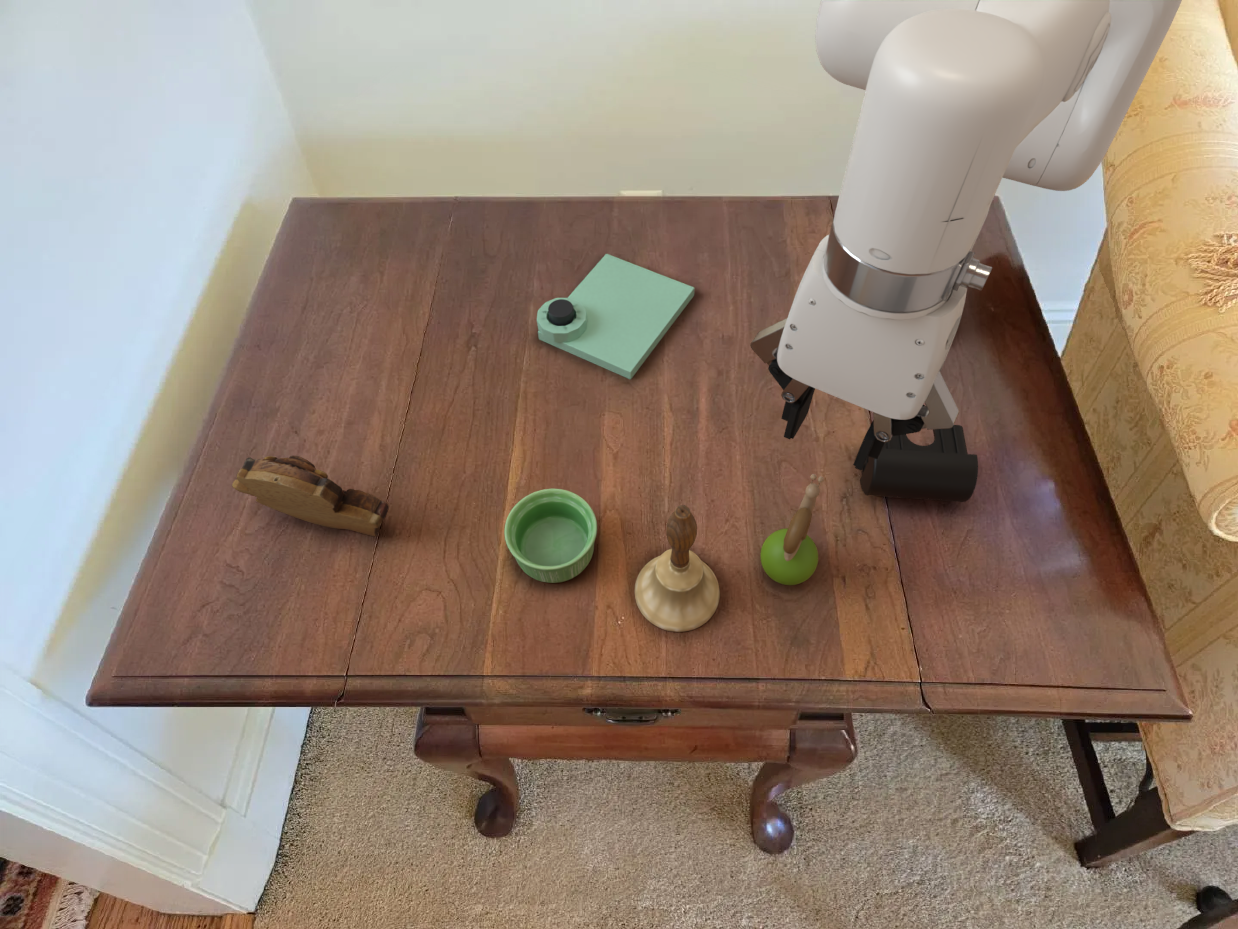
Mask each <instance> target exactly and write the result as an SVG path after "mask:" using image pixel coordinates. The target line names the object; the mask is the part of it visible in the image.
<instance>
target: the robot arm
mask: <svg viewBox="0 0 1238 929" xmlns="http://www.w3.org/2000/svg"><path fill="white" fill-rule="evenodd" d="M1182 2H1183V0H820V3H819V6H818V12H817V15H816V22H815V30H814V42H815V51H816V55H817V57H818V61H819V63H820V65H821V67H822V68H823V71H825V72H826V73H827V74H828V75H829V76H830V77H831V78H833V79H834V80H836V81H837V82H839V83H841V84H843V85H846V86H849V87H853V88H856V89H859V90H863V91H865V92H864V95H863V99H862V103H861V107H860V111H859V114H858V118H857V119H858V120H857V123H856V127H855V132H854V135H853V138H852V142H851V147H850V151H849V156H848V159H847V163H846V167H845V172H844V175H843V179H842V183H841V187H840V191H839V196H838V199H837V203H836V208H835V211H834V216H833V218H832V223H831V227H830V230H829V234H827V235H826V236H824V237H823V238H822V239H821V240H820V242H819V244H818V245H817V247H816V249H815V250H814V252H813V254H812V257H811V259H810V261H809V263H808V264H807V266H806V269H805V271H804V273H803V275H802V278H801V280H800V282H799V285H798V287H797V290H796V292H795V295H794V298H793V300H792V304H791V306H790V309H789V312H788V315H787V317H786V318H784V319H782V320H779V321H778V322H776V323H774V324H772V325H770V326H768V327H765V328H763V329H761V330H760V331H758V332H757V333H756V335H755V336H754V338H753V339H752V340H751V342H750V343H749V346H750V348H751V350H752V351H753V352H754V353H755V354H756V355H757V357H758V358H759V359H760V360H761V361H762V362H763V364H767V365H768V368H767V370H768V372H769V373H770V375H771V376H772V377H773V378H774V380H775V381H776V382H777V384H778V385H779V387H780V388H781V390H782V392H781V393H780V396H781V399H782V400H783V401H785V402H784V406H783V410H782V413H781V417H780V419H781V420H784V421H785V422H786V425H785V429H784V434H783V438H785V439H787V440H791V439H792V440H793V439H794V438H795V437H796V435H797V433H798V431H799V430H800V428H801V426H802V425H803V423H804V422H805V419H806V418H807V416H808V414H809V411H810V407H811V403H812V400H813V397H814V393H815V390H818V391H820V392H823V393H825V394H828V395H830V396H833V397H834V398H837V399H840V400H842V401H845V402H847V403H849V404H851V405H855V406H857V407H859V408H862V409H864V410H867V411H870V412H872V415H873V416H872V417H873V418H872V419H873V420H872V421H871V423H870V425H869V427H868V429H867V431H866V433H865V435H864V437H863V439H862V442H861V444H860V447H859V449H858V452H857V454H856V456H855V459H854V461H853V464H852V466H854V469H857V470H859V471H862V468H863V466H864V464H865V462H866V460H867V458H868V456H870V457H872V458H874V459H878V457H879V455H880V453H881V451H882V449H883V447H884V445H885V443H886V442H889V441H890V440H891V438H892V436H897V435H903V434H906V435H908V434H916V433H920V432H921V430H923V429H926V430H928V431H929V430H930V431H931V430H932V431H933V429H948V428H952V427H953V425H955V423H956V420H957V418H958V416H959V414H960V410H959V408H958V405H957V403H956V402H955V400H954V397H953V395H952V394H951V392H950V388H949V387H948V385H947V383H946V381H945V379H944V377H943V375H942V373H941V372H942V369H943V366H944V364H945V362H946V360H947V357H948V354H949V352H950V349H951V347H952V344H953V342H954V339H955V337H956V334H957V331H958V329H959V326H960V323H961V319H962V315H963V312H964V308H965V303H966V299H967V298H966V297H967V292H968V287H969V288H972V289H974V290H977V291H982V290H983V288H984V286H985V284H986V282H987V280H988V278H989V276H990V273H991V272H992V269H993V267H992V266H989V265H986V264H983V263H981V262H980V261H981V260H980V259H976V258H974V257H975V254H976V252H974V251H973V250H974V249H973V248H974V247H975V244H976V242H977V239H978V237H979V235H980V233H981V230H982V228H983V226H984V224H985V223H986V222H985V221H986V219H987V217H988V214H989V212H990V209H991V208H990V207H991V204H992V202H993V200H994V197H995V196H996V193H997V191H998V189H999V186H1000V184H1001V182H1002V180H1003V179H1005V180H1010V181H1014V182H1018V183H1022V184H1025V185H1029V186H1033V187H1037V188H1041V189H1045V190H1050V191H1054V192H1055V191H1056V192H1068V191H1072V190H1075V189H1077V188H1079V187H1081V186H1082V185H1084V184H1086V182H1087V181H1088V180H1089V179H1090V178H1091V177H1093V175H1094V173H1095V172H1096V170H1098V168H1099V166H1100V165H1101V162H1102V161H1103V159H1104V158H1105V156H1106V154H1107V153H1108V150H1109V148H1110V147H1111V144H1112V143H1113V141H1114V140H1115V137H1116V135H1117V134H1118V131H1119V129H1120V127H1121V125H1122V122H1123V121H1124V119H1125V117H1126V115H1127V113H1128V111H1129V109H1130V107H1131V105H1132V103H1133V101H1134V99H1135V97H1136V95H1137V93H1138V91H1139V89H1140V88H1141V85H1142V84H1143V81H1144V79H1145V77H1146V75H1147V74H1148V72H1149V70H1150V67H1151V65H1152V63H1153V62H1154V59H1155V57H1156V56H1157V53H1158V52H1159V49H1160V48H1161V45H1162V43H1163V41H1164V40H1165V38H1166V35H1167V34H1168V32H1169V30H1170V27H1171V25H1172V24H1173V21H1174V18H1175V17H1176V15H1177V13H1178V11H1179V8H1180V6H1181V4H1182ZM924 404H925V405H924Z"/></svg>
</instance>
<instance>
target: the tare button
mask: <svg viewBox="0 0 1238 929" xmlns="http://www.w3.org/2000/svg"><path fill="white" fill-rule="evenodd" d="M548 312H549V319H550V321H551V322H552V323H553V324H554V325H557V326H566V325H568V324H570V323H571V322H572V321H573V319H574V308H573V305H572V303H571V302H569V301H568V300H564V299H559V300H555V301H553V302H552V303H551V304H550V305H549V307H548Z"/></svg>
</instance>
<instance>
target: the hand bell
mask: <svg viewBox="0 0 1238 929" xmlns="http://www.w3.org/2000/svg"><path fill="white" fill-rule="evenodd" d="M697 533H698V524H697V521H696V518H695V516H694V514H693V513H692V511H691V509H690V507H688V506H687V505H685V504H680V505H678V506H676V507H675V509H674V511H673V512H672V513H671V514H670V516H669V517H668V519H667V522H666V528H665V534H666V539H667V542H668V545H669V546H670V548H669V549H667V550H665V551H664V552H663V553H661V555H658V556H656V557H654V558H652V559H651V560H650V561H648V562H646V564H645V565H644V566H642V568H641V570H640V571H639V573H638V575H637V577H636V579H635V584H634V598H635V603H636V606H637V608H638V610H639V612H640V613H641V614H642V616H643V617H644V618H645V619H646V620H647V621H648V622H649V623H650V624H652V625H653V626H655V627H657V628H659V629H662V630H664V631H667V632H672V633H683V632H689V631H693V630H696V629H698V628H700V627H702V626H703V625H705V624H706V623H707V622H708V621H709V620H710V619H711V618H712V617H713V616H714V614H715V613H716V611H717V609H718V606H719V603H720V597H721V590H720V584H719V581H718V578H717V576H716V574H715V573H714V571H713V570H712V569H711V567H710V566H709V565H707V564H706V563H705V562H704V561H703V560H701V558H700V557H699V555H697V553H695V552H694V551H692V550H690V549H691V548H692V546H693V545H694V543H695V541H696V538H697V535H698V534H697Z"/></svg>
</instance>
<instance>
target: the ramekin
mask: <svg viewBox="0 0 1238 929" xmlns="http://www.w3.org/2000/svg"><path fill="white" fill-rule="evenodd" d="M503 531H504V532H503V534H504V541H505V545H506V547H507V549H508V551H509V552H510V553H511V555H512V557H513V558H514V559H515V561H516V563H517V564H518V566H519V567H520V569H521V570H522V571H523V572H524V573H525V574H526V575H527V576H528V577H530V578H532V579H534V580H536V581H539V582H541V583H548V584H557V583H563V582H566V581H569V580H572V579H574V578H575V577H577V576H579V575H580V574H581V573H582V572H583V571H584V570H585V569H586V568H587V567H588V565H589V563H590V562H591V560H592V558H593V554H594V550H595V541H596V538H597V534H598V521H597V518H596V514H595V512H594V510H593V508H592V507H591V505H590V504H589V503H588V502H587V501H586V500H585V499H584V498H582V497H581V496H580V495H578V494H576V493H574V492H572V491H570V490H567V489H562V488H545V489H540V490H537V491H534V492H532V493H529V494H528V495H526V496H525V497H523V498H521V499H520V500H519V501H518V502H517V503H515V505H514V506H513V507H512V508H511V510H510V512H509V513H508V515H507V517H506V519H505V523H504V530H503Z"/></svg>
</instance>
